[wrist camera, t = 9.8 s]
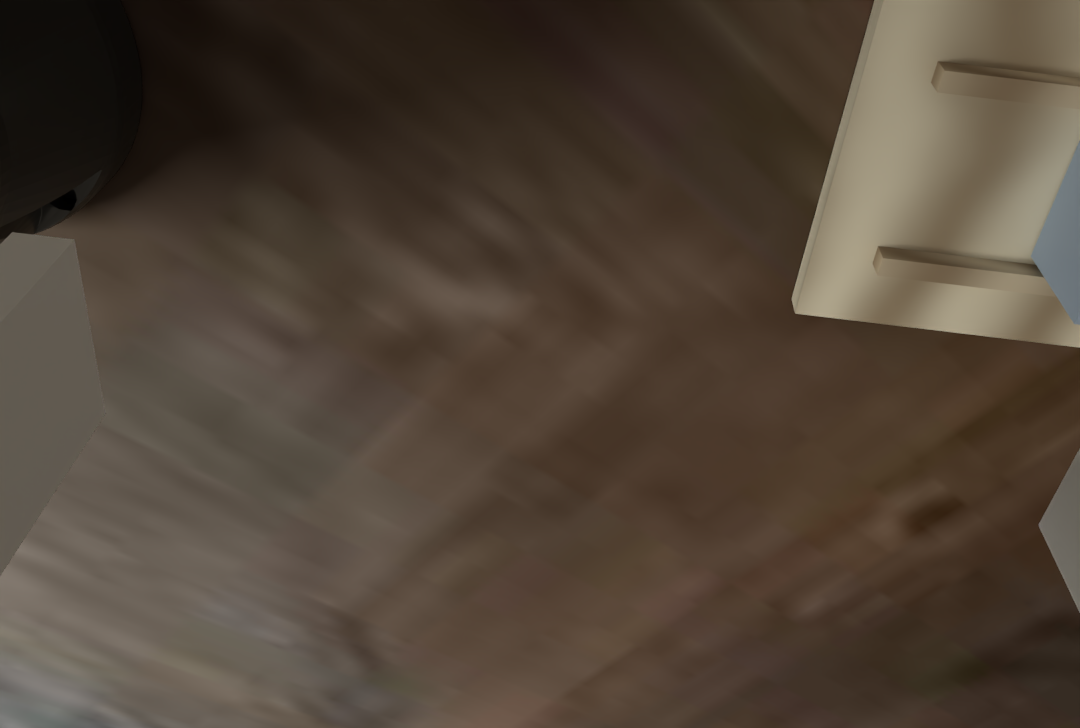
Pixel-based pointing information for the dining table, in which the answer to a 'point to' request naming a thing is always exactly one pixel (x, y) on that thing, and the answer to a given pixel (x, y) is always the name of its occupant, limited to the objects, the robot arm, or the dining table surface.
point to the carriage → (1063, 242)
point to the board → (949, 170)
